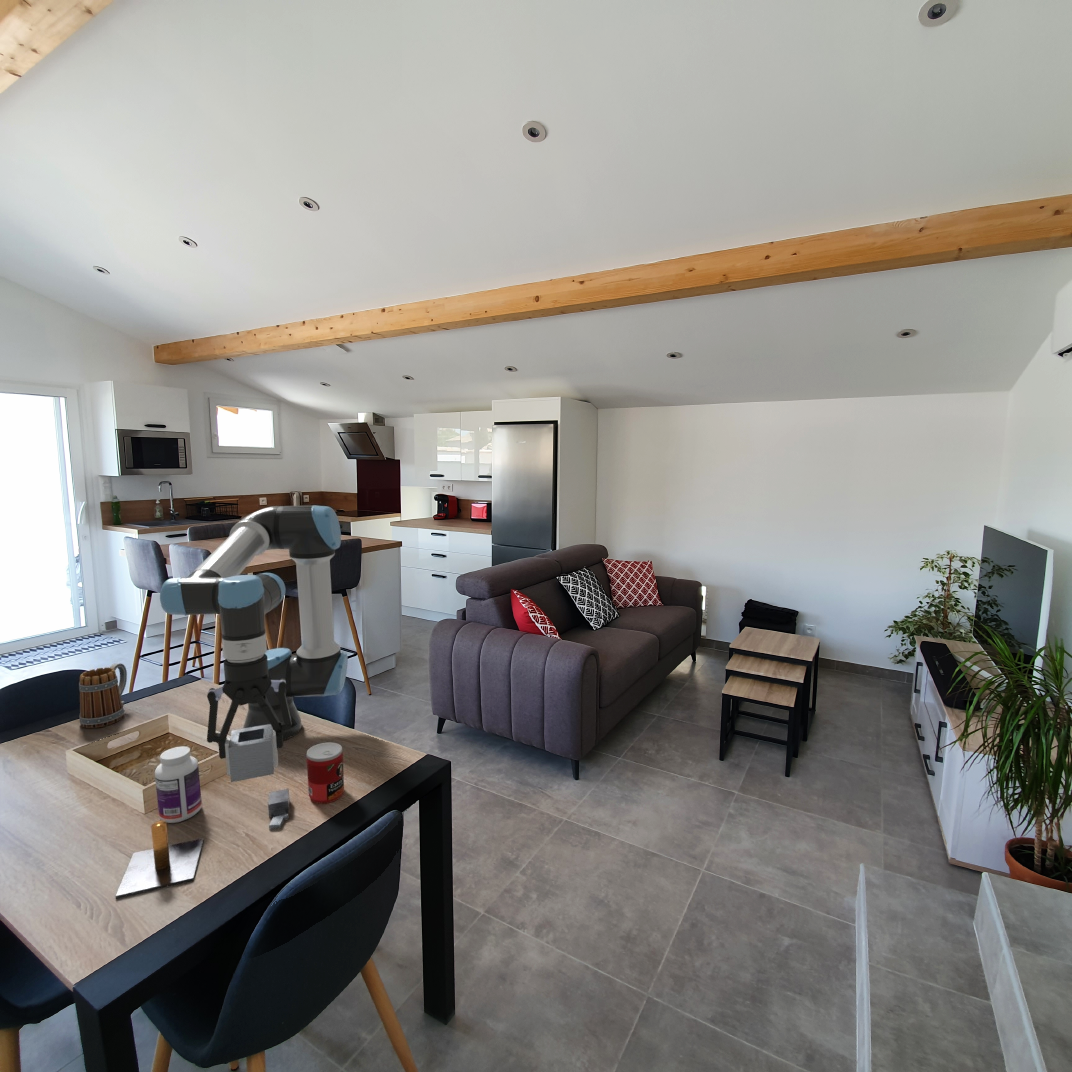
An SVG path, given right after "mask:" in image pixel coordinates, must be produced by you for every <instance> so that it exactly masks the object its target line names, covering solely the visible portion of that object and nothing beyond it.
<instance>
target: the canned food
mask: <svg viewBox="0 0 1072 1072" xmlns="http://www.w3.org/2000/svg"><path fill="white" fill-rule="evenodd" d="M343 752H344V751H343V746H342V745H341V744H339V743H336V742H328V741H327V742H322V743H318V744H317V743H316V745H315V744H314V745H313V746H310V748H308V749H307V751H306V771H307V787H308V790H307V791H308V797H309V798H310V800H311V802H314V803H316V804H329V803H332V802H334V801H337V800H338V799H340V798H342V796H343V794H344V791H345V779H344V778H345V777H344V754H343Z"/></svg>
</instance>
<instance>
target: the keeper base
mask: <svg viewBox="0 0 1072 1072" xmlns="http://www.w3.org/2000/svg"><path fill="white" fill-rule="evenodd" d="M150 829H151V841H152V848H151V849H145V850H141V851H136V852H133V854H132V856H131V858H130V860H129V863H128V865H127V868H126V870H125V872H124V874H123V877H122V880H121V882H120V884H119V887H118V889H117V892H116V894H115V900H119V899H122V898H127V897H130V896H135V895H139V894H143V893H147V892H151V891H155V890H160V889H165V888H168V887H172V886H173V887H174V886H177V885H181V884H185V883H186V884H187V883H190V882H193V881H194V880H195V877H196V872H197V869H198V865H199V861H200V856H201V852H202V848H203V845H204V837H203V838H198V839H194V840H188V841H184V842H179V843H172V844H169V838H168V837H169V836H168V827H167V822H166V821H162V820H158V821H155V822H154V823H152V824H151V826H150Z"/></svg>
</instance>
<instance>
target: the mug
mask: <svg viewBox="0 0 1072 1072" xmlns="http://www.w3.org/2000/svg"><path fill="white" fill-rule="evenodd" d="M117 669H118V671H119V679H118V676H117V673H116V672H117V671H116V670H117ZM127 678H128V672H127V668H126V666H125V664H123V663H118V662H117V663H113V664H111V665H110V666H109V667H107V666H106V667H104V668H103V667H98V668H96V669H95V668H94V669H89V670H88V671H86V670H85V671H84V672H82V673H81V674H80V676H79V682H78V690H79V703H80V704H79V712H80V713H79V723H80V726H81V727H83V728H86V729H97V728H99V729H100V728H103V727H108V726H111V725H113V724H115V723H117V722H119V721H121V720H122V719H123V717H124V716H125V710H124V705H125V701H124V700H122V699H121V697H122V695H123V693H124V691H125V689H126V685H127V682H128V681H127V680H128V679H127ZM118 680H119V681H118Z"/></svg>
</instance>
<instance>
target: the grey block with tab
mask: <svg viewBox="0 0 1072 1072" xmlns="http://www.w3.org/2000/svg"><path fill="white" fill-rule="evenodd" d="M267 807H268V818H272V819H271V820H270V823H269V825H268V828H269V829H268V830H281V828H282V826H283V825H284V822H285V821H287V820H289V814H290V789H289V788H283V789H279V790H274V791H269V793H268V803H267Z"/></svg>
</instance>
